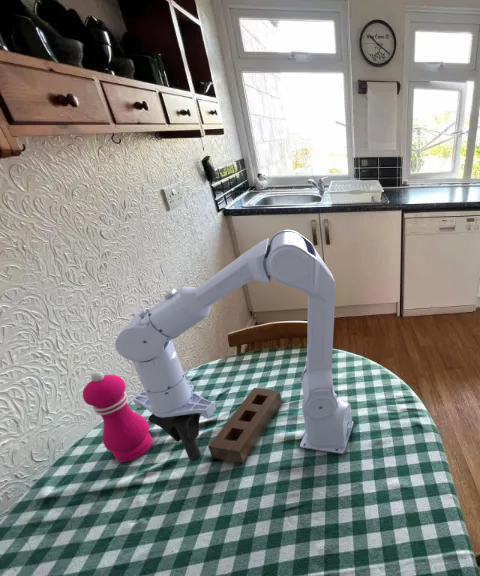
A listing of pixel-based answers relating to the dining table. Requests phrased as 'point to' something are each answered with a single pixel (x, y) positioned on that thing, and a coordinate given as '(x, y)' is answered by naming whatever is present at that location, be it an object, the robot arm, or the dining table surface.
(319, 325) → the robot arm
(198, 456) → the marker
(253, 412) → the holder
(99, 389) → the pepper mill
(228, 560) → the dining table surface
